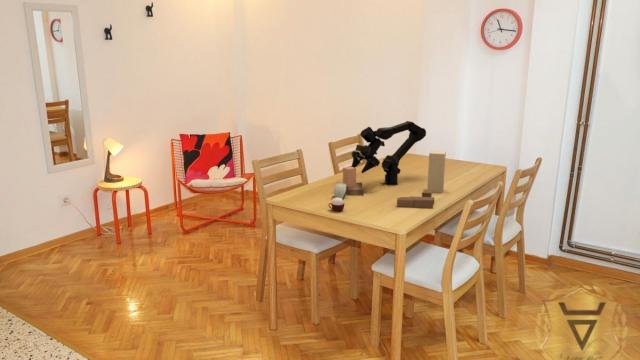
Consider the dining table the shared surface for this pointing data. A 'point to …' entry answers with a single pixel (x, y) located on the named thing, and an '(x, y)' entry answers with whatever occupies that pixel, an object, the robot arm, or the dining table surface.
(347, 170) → the terracotta block
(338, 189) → the grey green canister
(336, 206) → the cocoa
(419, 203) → the wooden block set
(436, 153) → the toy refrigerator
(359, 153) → the robot arm
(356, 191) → the walnut slab
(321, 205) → the dining table surface
